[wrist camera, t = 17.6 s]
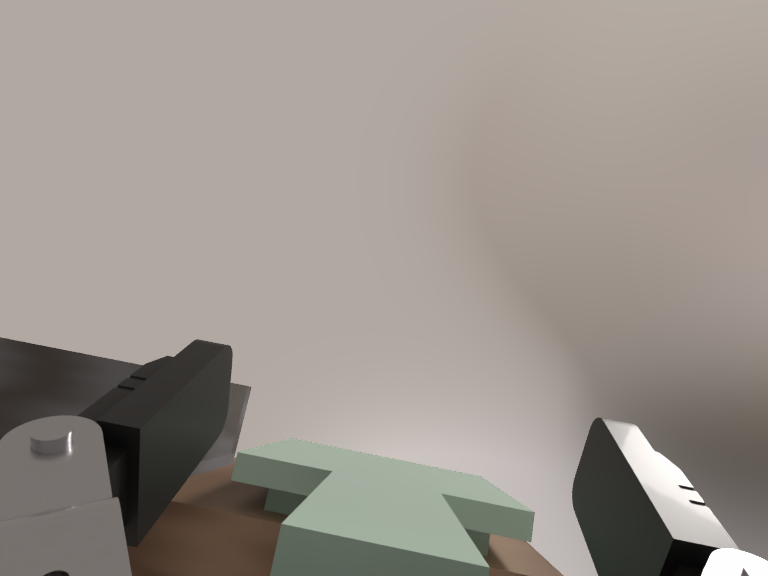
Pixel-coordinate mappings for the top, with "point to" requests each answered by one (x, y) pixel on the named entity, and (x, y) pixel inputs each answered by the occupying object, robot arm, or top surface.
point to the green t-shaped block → (377, 513)
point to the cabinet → (203, 487)
